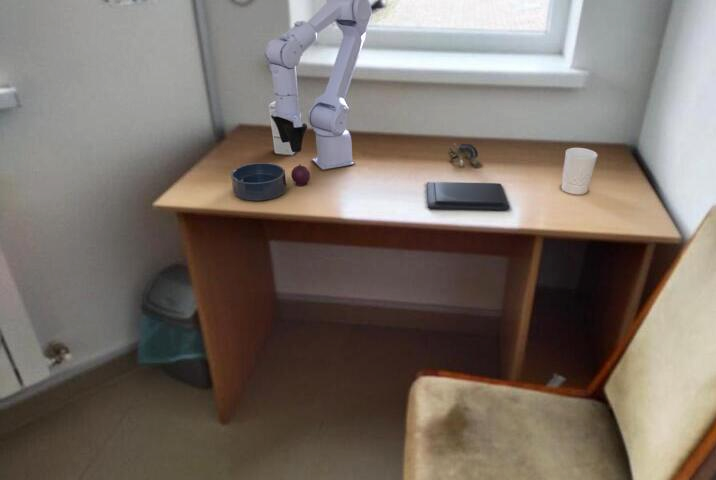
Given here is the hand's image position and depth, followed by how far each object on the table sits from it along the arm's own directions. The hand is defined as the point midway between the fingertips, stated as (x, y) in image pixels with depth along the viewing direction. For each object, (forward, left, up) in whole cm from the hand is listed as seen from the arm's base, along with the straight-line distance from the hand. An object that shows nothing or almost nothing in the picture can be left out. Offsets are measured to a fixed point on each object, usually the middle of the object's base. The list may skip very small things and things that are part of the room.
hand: (291, 146), depth 144 cm
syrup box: (-5, -20, -9) cm, 22 cm away
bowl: (+10, +4, -9) cm, 14 cm away
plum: (0, +4, -9) cm, 10 cm away
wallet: (-35, +30, -9) cm, 47 cm away
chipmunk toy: (-47, +11, -9) cm, 49 cm away
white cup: (-64, +38, -9) cm, 75 cm away
